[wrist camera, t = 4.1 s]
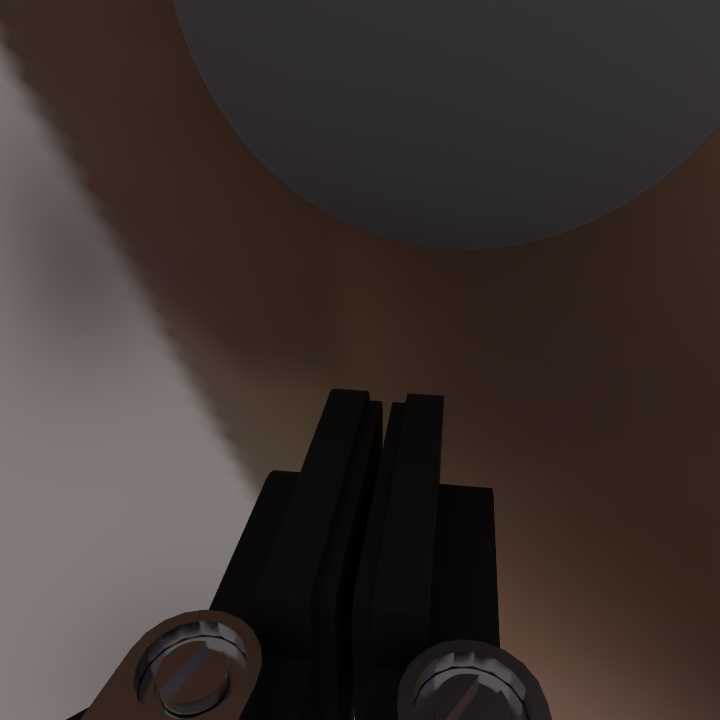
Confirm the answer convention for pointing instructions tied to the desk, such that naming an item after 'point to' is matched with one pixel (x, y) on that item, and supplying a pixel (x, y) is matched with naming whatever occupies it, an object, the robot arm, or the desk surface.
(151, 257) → the desk surface
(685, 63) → the grey ball
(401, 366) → the desk surface
